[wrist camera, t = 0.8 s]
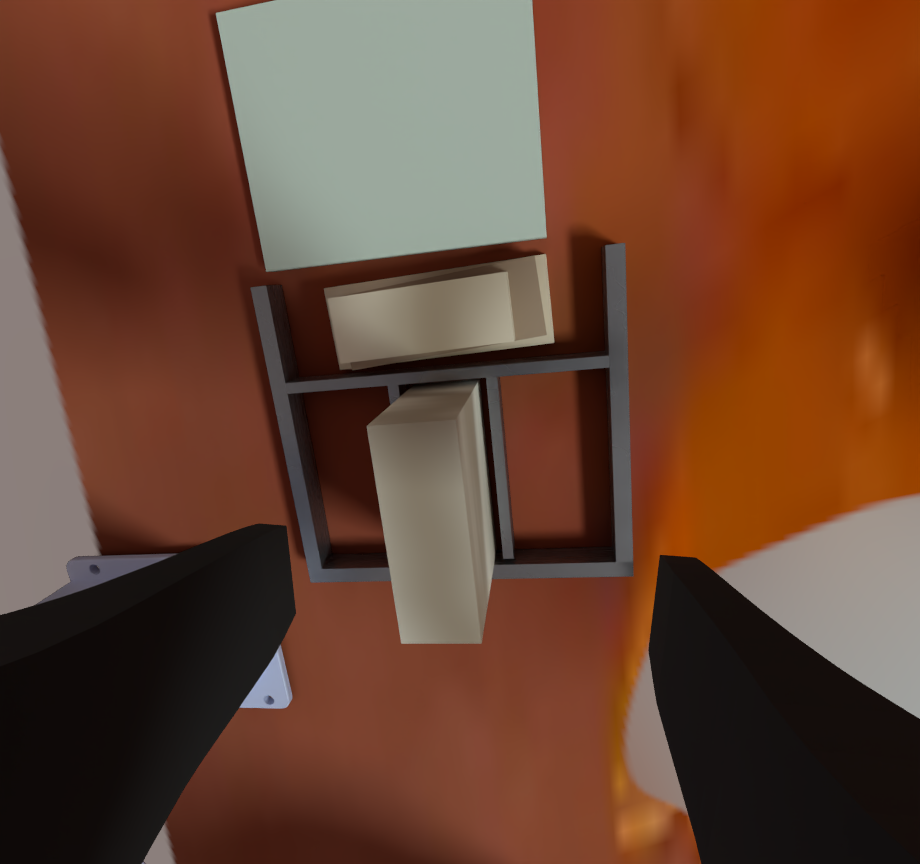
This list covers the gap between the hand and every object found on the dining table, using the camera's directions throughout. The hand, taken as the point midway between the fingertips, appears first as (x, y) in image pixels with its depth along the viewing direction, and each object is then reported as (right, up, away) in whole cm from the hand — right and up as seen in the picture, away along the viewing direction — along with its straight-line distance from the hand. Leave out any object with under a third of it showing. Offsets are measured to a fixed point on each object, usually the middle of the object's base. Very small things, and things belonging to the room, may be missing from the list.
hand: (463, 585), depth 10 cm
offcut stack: (-1, +7, +10) cm, 12 cm away
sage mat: (-2, +13, +8) cm, 15 cm away
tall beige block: (0, +2, +11) cm, 11 cm away
